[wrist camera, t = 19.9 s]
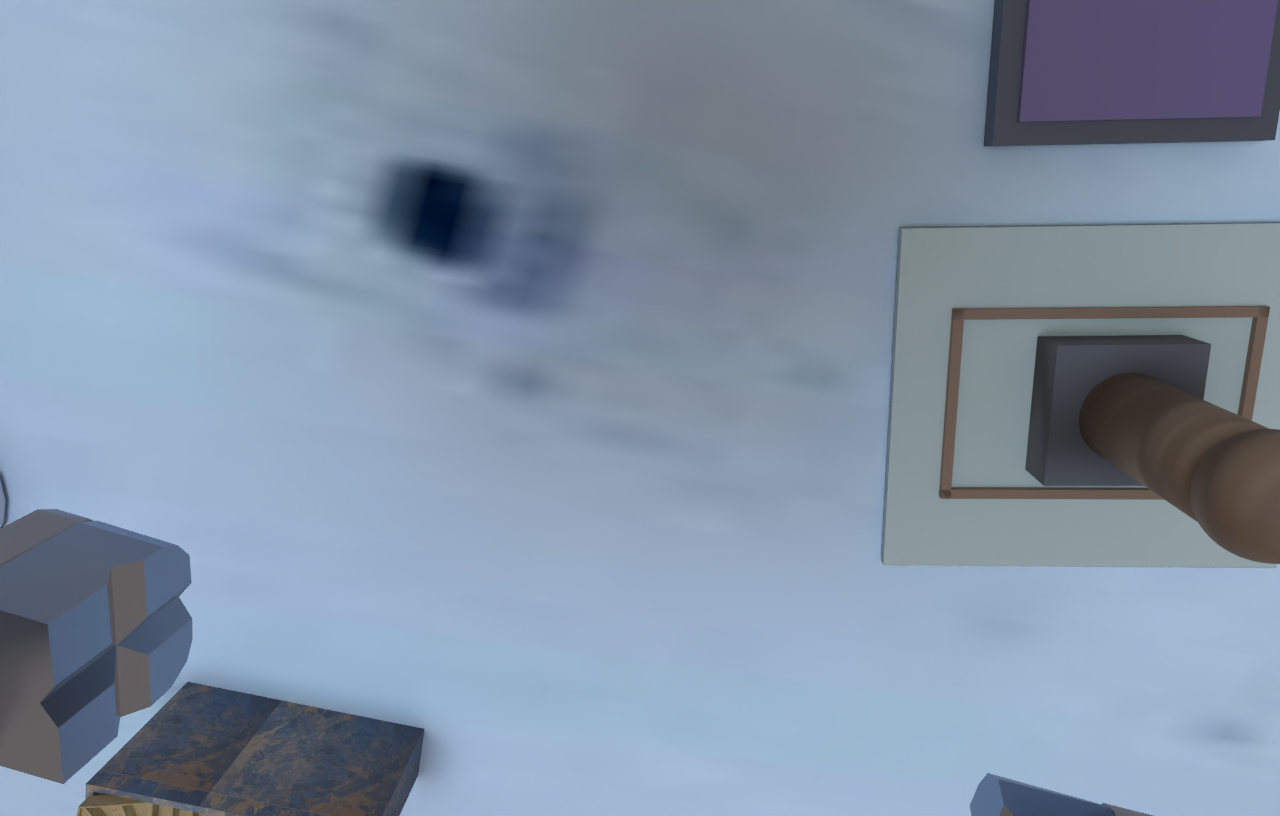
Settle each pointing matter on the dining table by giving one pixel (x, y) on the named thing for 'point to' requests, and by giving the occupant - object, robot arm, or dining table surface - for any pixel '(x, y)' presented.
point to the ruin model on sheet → (256, 761)
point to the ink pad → (1133, 72)
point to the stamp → (1154, 434)
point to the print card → (1004, 371)
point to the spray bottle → (2, 504)
